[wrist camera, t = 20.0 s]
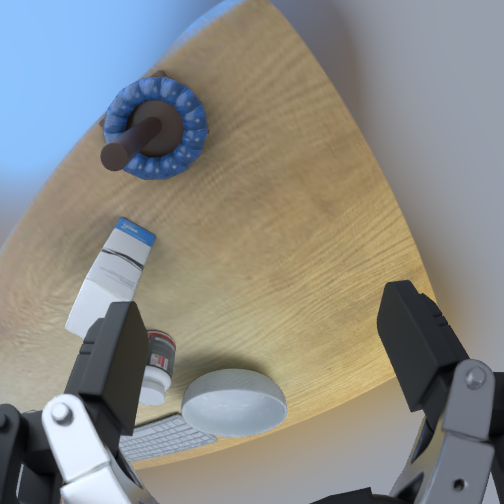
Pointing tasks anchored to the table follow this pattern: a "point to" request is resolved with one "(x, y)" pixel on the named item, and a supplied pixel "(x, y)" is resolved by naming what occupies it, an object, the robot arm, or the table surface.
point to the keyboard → (163, 439)
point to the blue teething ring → (186, 107)
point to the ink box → (111, 275)
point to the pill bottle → (157, 368)
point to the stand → (145, 133)
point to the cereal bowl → (233, 403)
